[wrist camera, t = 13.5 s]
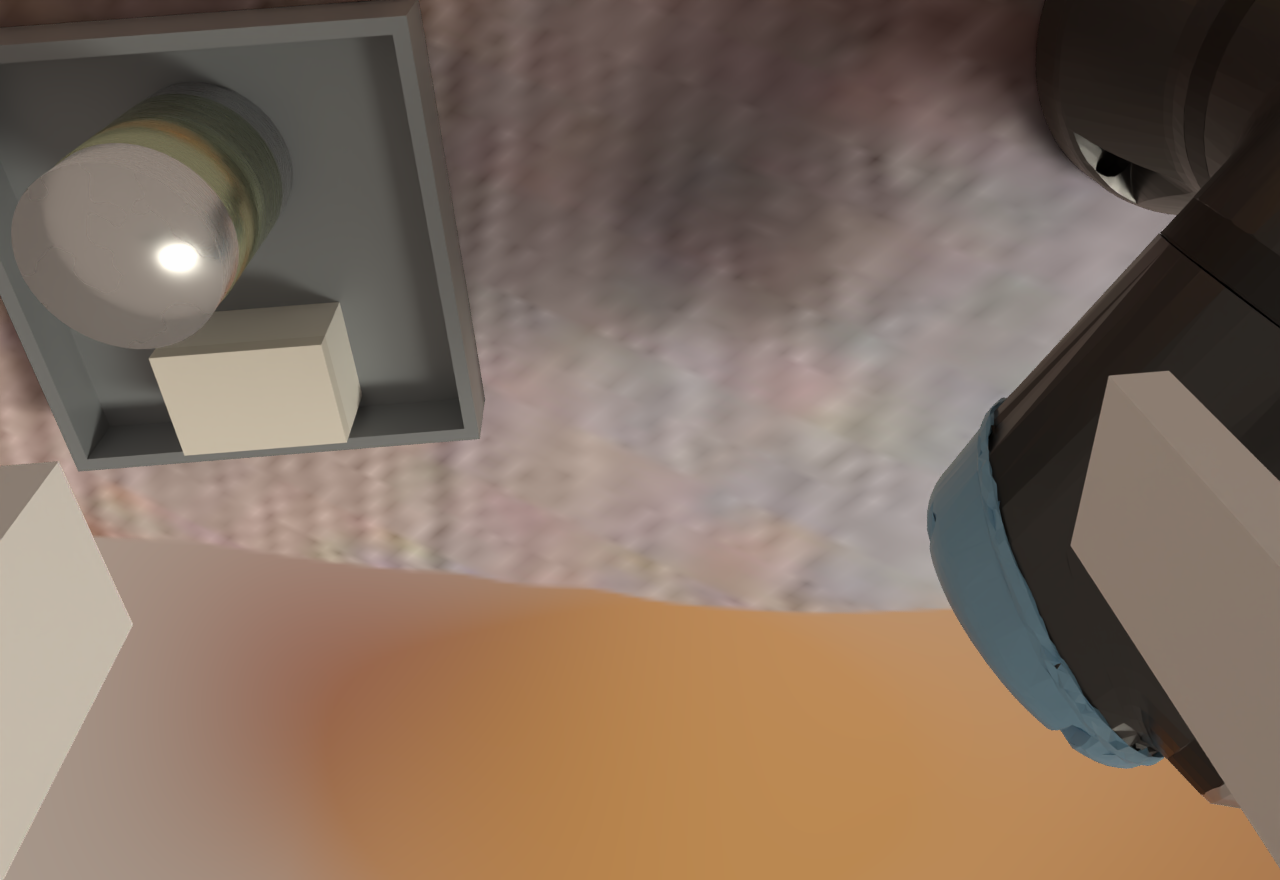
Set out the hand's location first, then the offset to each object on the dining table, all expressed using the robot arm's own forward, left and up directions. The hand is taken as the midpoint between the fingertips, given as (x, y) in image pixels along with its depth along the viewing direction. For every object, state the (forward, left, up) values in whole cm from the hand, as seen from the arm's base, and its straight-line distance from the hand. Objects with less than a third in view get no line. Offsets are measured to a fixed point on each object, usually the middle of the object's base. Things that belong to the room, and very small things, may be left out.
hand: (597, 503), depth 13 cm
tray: (+15, +8, -32) cm, 36 cm away
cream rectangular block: (+15, +13, -31) cm, 37 cm away
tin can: (+15, +4, -31) cm, 35 cm away
